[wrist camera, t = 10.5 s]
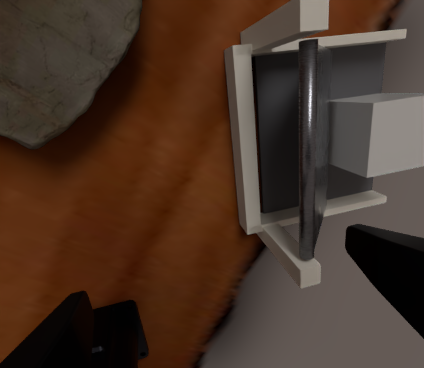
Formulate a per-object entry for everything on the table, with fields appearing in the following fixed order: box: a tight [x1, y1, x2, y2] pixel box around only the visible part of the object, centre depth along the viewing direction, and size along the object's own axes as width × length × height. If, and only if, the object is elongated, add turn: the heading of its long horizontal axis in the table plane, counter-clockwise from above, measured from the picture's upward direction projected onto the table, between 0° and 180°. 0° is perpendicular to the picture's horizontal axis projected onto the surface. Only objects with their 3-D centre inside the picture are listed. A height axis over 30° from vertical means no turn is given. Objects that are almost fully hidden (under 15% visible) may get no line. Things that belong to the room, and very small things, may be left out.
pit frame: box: [224, 0, 407, 288], centre depth 19 cm, size 13×16×8 cm
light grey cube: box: [328, 93, 424, 178], centre depth 20 cm, size 5×5×5 cm
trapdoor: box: [299, 39, 332, 260], centre depth 18 cm, size 8×12×1 cm
